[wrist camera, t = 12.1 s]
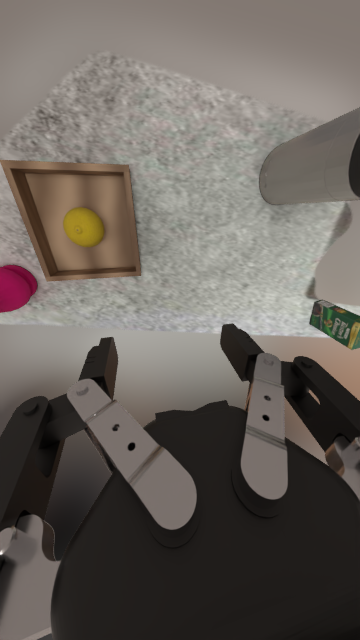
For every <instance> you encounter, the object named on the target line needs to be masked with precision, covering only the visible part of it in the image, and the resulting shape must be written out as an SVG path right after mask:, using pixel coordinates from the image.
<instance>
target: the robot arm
mask: <svg viewBox="0 0 360 640" xmlns="http://www.w3.org/2000/svg"><path fill="white" fill-rule="evenodd" d="M260 190H261V194H262V196H263V198H264V199H265V200H266V201H267V202H268V203H270V204H273V205H283V204H302V203H319V202H336V201H351V200H360V107H359V108H357V109H355V110H353V111H351V112H349V113H347V114H344V115H342V116H340V117H338V118H336V119H334V120H332V121H330V122H328V123H326V124H323V125H321V126H319V127H317V128H315V129H313V130H311V131H309V132H307V133H305V134H302V135H300V136H298V137H296V138H294V139H292V140H290V141H288V142H286V143H283V144H281V145H280V146H278V147H276V148H275V149H274V150H273V151H272V152H271V153H270V154H269V155H268V157H267V159H266V160H265V162H264V165H263V167H262V170H261V174H260ZM220 344H221V348H222V350H223V352H224V353H225V355H226V356H227V358H228V360H229V361H230V363H231V365H232V366H233V368H234V369H235V371H236V373H237V374H238V376H239V378H240V379H241V381H249V382H250V384H249V388H248V393H247V398H246V404H245V408H244V410H243V409H241V408H237V407H234V406H229V405H228V403H227V401H226V400H224V401H219V402H213V403H209V404H207V405H205V406H203V407H201V408H199V409H197V410H194V411H181V410H171V411H166V412H160V413H156V414H155V415H156V420H154V421H152V422H150V423H149V424H147V425H146V426H145V427H144V428H142V427H141V426H140V425H139V424H138V423H137V421H136V420H135V419H134V418H133V417H132V416H131V415H130V414H129V413H128V412H127V411H126V410H125V409H124V408H123V406H122V405H121V404H120V403H119V402H118V401H117V400H114V401H113V396H114V388H115V380H116V372H117V365H118V355H117V351H116V346H115V342H114V338H113V337H107V338H101V340H100V344H99V346H94V347H93V348H92V349H91V350H90V351H89V352H88V355H87V359H86V361H85V364H84V366H83V369H82V372H81V375H80V378H79V380H78V382H76V383H74V384H73V385H72V386H71V387H70V388H69V390H68V392H67V393H66V394H64V395H62V396H59V397H57V398H54V399H52V400H49V401H48V399H47V398H46V397H44V396H38V397H34V398H31V399H29V400H27V401H25V402H24V403H22V404H21V405H20V406H19V407H18V408H17V409H16V410H15V412H14V413H13V415H12V417H11V419H10V420H9V422H8V424H7V426H6V428H5V430H4V431H3V433H2V435H1V437H0V640H36V639H38V638H41V637H43V636H45V635H47V634H50V633H52V637H53V640H360V401H359V400H357V398H355V397H354V396H353V395H352V394H351V393H350V392H349V391H348V390H347V389H346V388H344V387H343V386H342V385H341V384H340V383H339V382H338V381H337V380H336V379H334V378H333V377H332V376H331V375H330V374H329V373H328V372H327V371H325V370H324V369H323V368H322V367H321V366H320V365H319V364H318V363H317V362H315V361H314V360H312V359H310V358H308V357H303V356H298V357H295V358H294V361H293V362H284V361H280V360H279V359H278V358H277V357H276V356H274V355H272V354H269V353H265V352H264V351H263V350H262V349H261V348H260V347H259V346H258V345H257V344H256V343H255V341H253V339H252V338H250V336H249V335H248V334H247V333H246V332H245V331H243V330H241V329H238V328H237V327H236V326H235V325H234V324H225V325H223V326H222V332H221V340H220ZM309 390H311V391H312V392H313V393H314V394H315V395H316V396H317V398H318V399H319V401H320V405H319V403H318V402H317V401H316V400H315V399H314V398H313V397H312V396H311V394H310V393H309ZM284 397H285V398H286V399H287V401H288V402H289V403H290V405H291V406H292V408H293V409H294V410H295V412H296V413H297V414H298V416H299V417H300V418H301V420H302V421H303V423H304V424H305V425H306V427H307V428H308V430H309V431H310V432H311V434H312V435H313V436H314V438H315V439H316V440H317V442H318V443H319V445H320V446H321V447H322V449H323V450H324V452H325V458H326V462H327V464H328V465H329V466H328V465H326V464H325V463H323V462H322V461H320V460H319V459H317V458H316V457H314V456H313V455H311V454H310V453H308V452H307V451H305V450H304V449H302V448H301V447H299V446H298V445H296V444H295V443H293V442H292V441H290V440H289V439H287V438H286V437H285V436H284V435H285V433H284ZM83 429H84V431H85V432H86V434H87V436H88V437H89V438H90V440H91V441H92V443H93V445H94V446H95V448H96V449H97V451H98V452H99V454H100V456H101V457H102V459H103V461H104V463H105V464H106V466H107V467H108V469H109V471H110V472H111V473H112V475H111V477H110V478H109V480H108V481H107V483H106V485H105V486H104V488H103V489H102V491H101V492H100V494H99V496H98V497H97V499H96V500H95V502H94V504H93V505H92V507H91V508H90V510H89V512H88V513H87V515H86V516H85V518H84V520H83V521H82V523H81V524H80V526H79V527H78V529H77V531H76V532H75V534H74V535H73V537H72V539H71V540H70V542H69V544H68V546H67V548H66V550H65V552H64V554H63V557H62V559H61V561H57V562H56V560H55V558H54V551H53V550H54V531H53V529H52V527H51V526H50V525H49V524H47V523H46V522H45V521H44V519H45V515H46V511H47V508H48V504H49V500H50V496H51V492H52V488H53V484H54V480H55V477H56V473H57V469H58V465H59V461H60V458H61V453H62V450H63V446H64V442H65V439H66V438H67V437H68V436H71V435H73V434H75V433H77V432H79V431H81V430H83Z"/></svg>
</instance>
